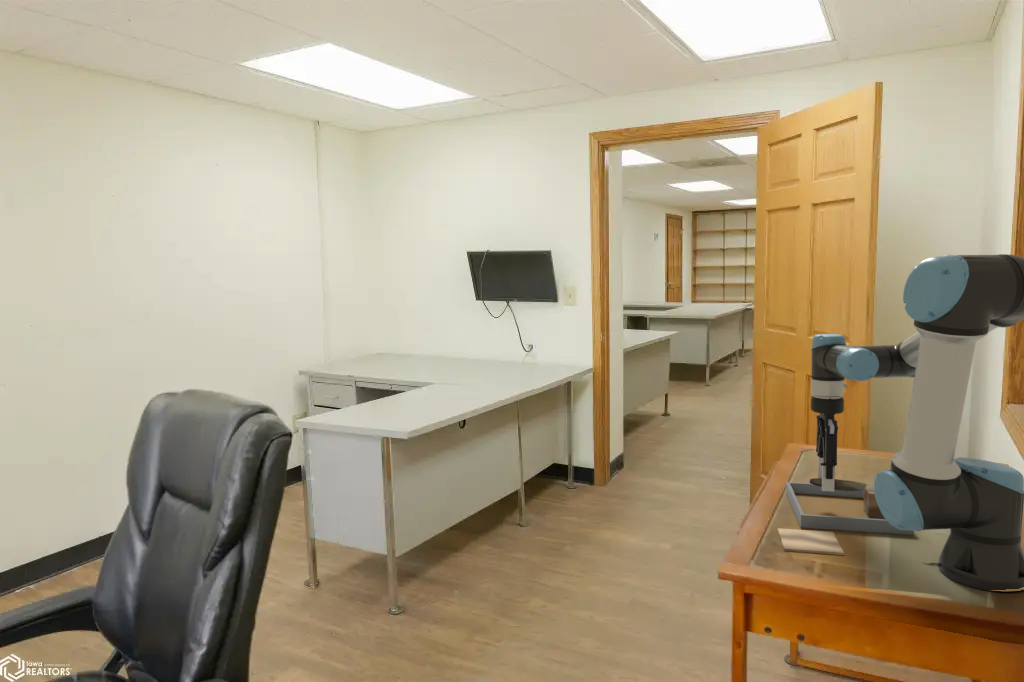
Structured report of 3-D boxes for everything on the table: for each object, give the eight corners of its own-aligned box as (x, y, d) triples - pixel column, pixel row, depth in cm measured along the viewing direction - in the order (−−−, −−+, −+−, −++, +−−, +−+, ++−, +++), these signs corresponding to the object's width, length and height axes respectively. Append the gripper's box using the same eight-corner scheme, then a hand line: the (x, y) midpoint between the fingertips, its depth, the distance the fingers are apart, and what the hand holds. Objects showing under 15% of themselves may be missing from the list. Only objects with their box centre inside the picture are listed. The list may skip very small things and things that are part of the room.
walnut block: (890, 518, 167) (891, 494, 166) (868, 517, 168) (868, 493, 168) (885, 511, 172) (885, 488, 171) (863, 510, 173) (864, 487, 172)
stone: (867, 490, 169) (867, 481, 169) (864, 496, 165) (865, 486, 165) (810, 482, 176) (811, 474, 176) (807, 487, 172) (807, 479, 172)
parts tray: (913, 535, 156) (913, 522, 156) (800, 527, 162) (800, 515, 162) (882, 498, 181) (882, 487, 181) (786, 492, 187) (786, 481, 187)
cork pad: (844, 555, 146) (844, 552, 146) (784, 550, 149) (784, 548, 149) (832, 534, 158) (832, 532, 158) (777, 530, 161) (777, 528, 161)
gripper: (852, 403, 160) (850, 499, 162) (836, 390, 178) (834, 476, 180) (817, 402, 162) (815, 497, 164) (805, 389, 180) (803, 475, 182)
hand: (825, 486), depth 172 cm, fingers closed on stone, 6 cm apart
